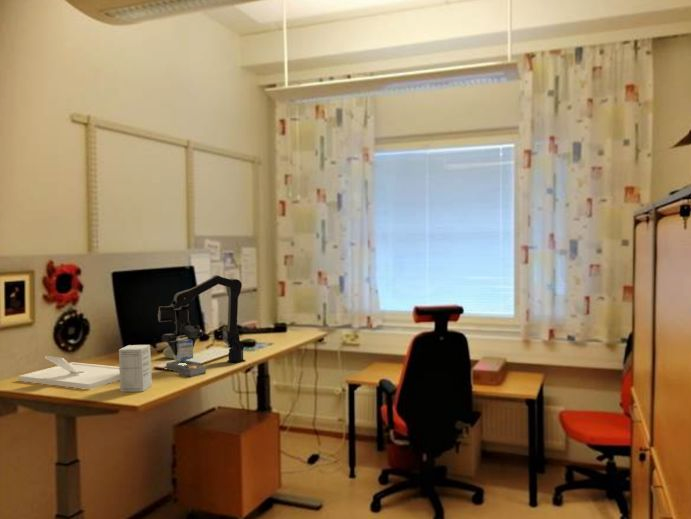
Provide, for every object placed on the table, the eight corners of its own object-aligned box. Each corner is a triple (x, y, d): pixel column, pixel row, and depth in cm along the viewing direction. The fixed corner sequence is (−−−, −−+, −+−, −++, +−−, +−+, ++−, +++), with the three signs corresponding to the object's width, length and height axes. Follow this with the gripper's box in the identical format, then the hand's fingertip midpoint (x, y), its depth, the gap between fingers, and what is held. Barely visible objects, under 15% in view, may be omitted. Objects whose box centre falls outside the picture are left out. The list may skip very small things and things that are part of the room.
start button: (193, 369, 253) (193, 365, 253) (198, 370, 251) (198, 366, 251) (186, 371, 250) (186, 366, 250) (191, 372, 248) (191, 368, 248)
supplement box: (152, 385, 232) (151, 344, 231) (143, 391, 223) (142, 349, 222) (129, 385, 232) (128, 344, 232) (119, 392, 223) (118, 349, 222)
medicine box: (180, 361, 258) (179, 342, 257) (173, 360, 260) (172, 341, 260) (193, 358, 264) (192, 339, 264) (186, 357, 267) (186, 338, 266)
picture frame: (89, 391, 227) (139, 375, 252) (88, 360, 226) (138, 347, 252) (18, 383, 242) (72, 368, 268) (17, 353, 242) (71, 342, 267)
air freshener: (161, 359, 281) (160, 339, 281) (166, 356, 290) (165, 336, 289) (183, 359, 282) (183, 339, 281) (187, 355, 290) (187, 336, 290)
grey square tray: (184, 363, 271) (184, 358, 271) (203, 367, 263) (203, 362, 263) (163, 368, 262) (162, 363, 262) (182, 372, 253) (181, 367, 253)
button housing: (194, 371, 256) (193, 364, 256) (205, 373, 251) (205, 366, 251) (179, 374, 250) (178, 367, 250) (190, 377, 245) (190, 370, 245)
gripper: (175, 324, 249) (177, 359, 250) (209, 318, 264) (211, 352, 265) (160, 322, 256) (161, 356, 257) (194, 316, 271) (195, 349, 271)
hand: (183, 353), depth 262 cm, fingers closed on medicine box, 8 cm apart
